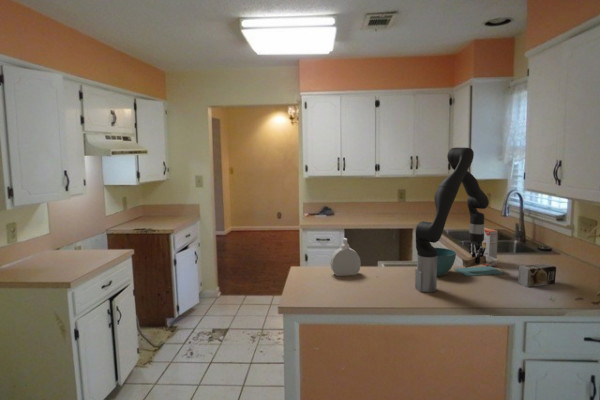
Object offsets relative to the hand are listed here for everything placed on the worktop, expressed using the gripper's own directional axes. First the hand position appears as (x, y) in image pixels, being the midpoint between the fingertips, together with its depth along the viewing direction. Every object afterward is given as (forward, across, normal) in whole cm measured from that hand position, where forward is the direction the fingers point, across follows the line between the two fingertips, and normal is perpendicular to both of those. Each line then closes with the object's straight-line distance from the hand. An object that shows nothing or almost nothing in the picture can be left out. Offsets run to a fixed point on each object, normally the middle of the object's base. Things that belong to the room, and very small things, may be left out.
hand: (475, 262), depth 217 cm
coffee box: (+1, +24, +10) cm, 26 cm away
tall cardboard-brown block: (+1, 0, +2) cm, 3 cm away
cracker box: (+6, -14, +14) cm, 21 cm away
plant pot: (+6, -2, -21) cm, 22 cm away
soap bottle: (+5, -11, -71) cm, 72 cm away
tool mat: (+5, 0, +2) cm, 6 cm away
